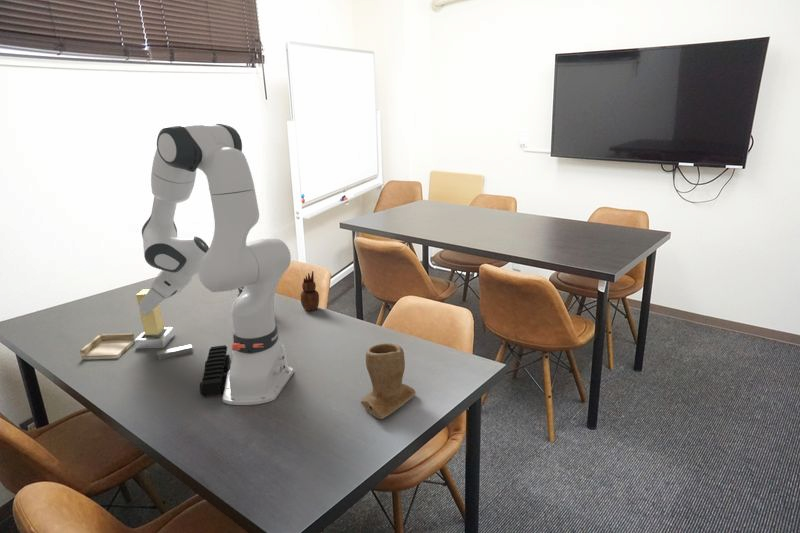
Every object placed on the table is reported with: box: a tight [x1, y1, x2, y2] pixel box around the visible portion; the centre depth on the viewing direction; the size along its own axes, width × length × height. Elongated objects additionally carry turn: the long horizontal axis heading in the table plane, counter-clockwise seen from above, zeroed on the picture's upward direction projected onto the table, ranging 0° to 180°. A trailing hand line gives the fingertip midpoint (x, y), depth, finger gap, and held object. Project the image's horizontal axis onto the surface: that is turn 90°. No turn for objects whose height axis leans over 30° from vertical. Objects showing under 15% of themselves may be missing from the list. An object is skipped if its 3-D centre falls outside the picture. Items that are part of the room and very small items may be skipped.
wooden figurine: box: [300, 270, 320, 312], centre depth 182 cm, size 7×6×15 cm
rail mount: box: [199, 344, 231, 398], centre depth 138 cm, size 21×6×5 cm, turn 14°
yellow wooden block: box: [136, 288, 165, 335], centre depth 157 cm, size 4×4×14 cm
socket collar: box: [134, 326, 176, 349], centre depth 161 cm, size 9×9×3 cm
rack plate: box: [80, 332, 136, 360], centre depth 155 cm, size 11×11×3 cm
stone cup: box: [360, 342, 416, 420], centre depth 124 cm, size 15×12×15 cm
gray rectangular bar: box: [156, 344, 194, 360], centre depth 153 cm, size 10×2×2 cm, turn 117°
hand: (148, 309), depth 157 cm, fingers closed on yellow wooden block, 4 cm apart
